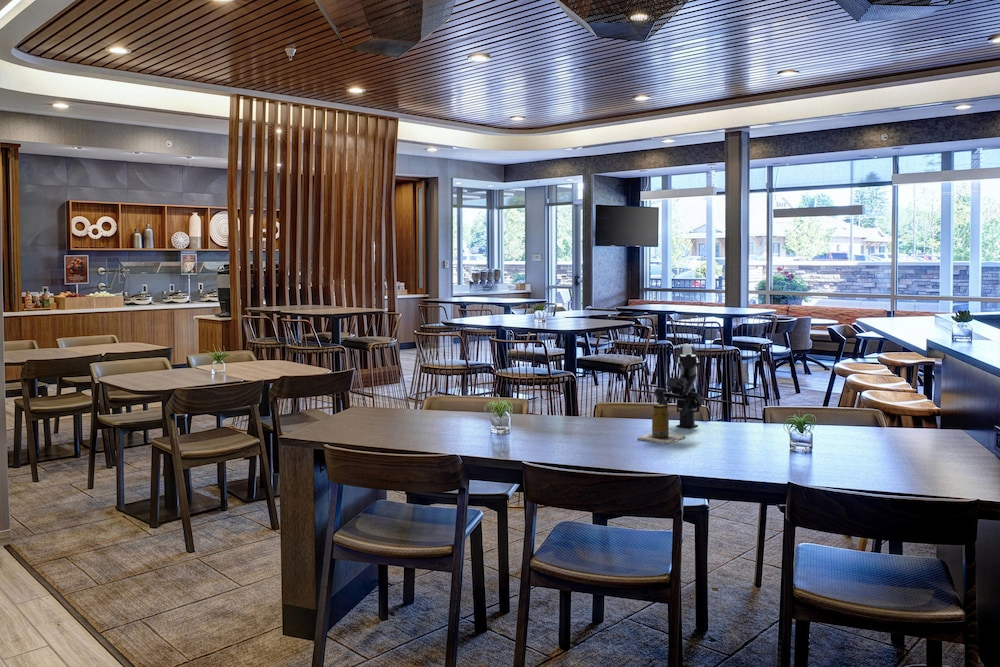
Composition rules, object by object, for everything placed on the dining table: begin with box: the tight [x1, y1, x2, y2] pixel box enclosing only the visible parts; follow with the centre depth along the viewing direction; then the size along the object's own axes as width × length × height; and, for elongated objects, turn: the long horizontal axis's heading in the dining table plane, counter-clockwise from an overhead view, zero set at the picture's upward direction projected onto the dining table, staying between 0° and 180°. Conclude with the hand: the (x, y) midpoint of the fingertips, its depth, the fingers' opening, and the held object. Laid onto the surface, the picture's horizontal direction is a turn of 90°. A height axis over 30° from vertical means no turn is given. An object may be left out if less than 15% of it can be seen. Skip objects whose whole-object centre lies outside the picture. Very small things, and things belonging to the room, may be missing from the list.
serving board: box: [636, 433, 686, 445], centre depth 297 cm, size 14×12×1 cm
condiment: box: [647, 403, 676, 440], centre depth 295 cm, size 7×8×12 cm
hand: (669, 414), depth 300 cm, fingers open, 9 cm apart
